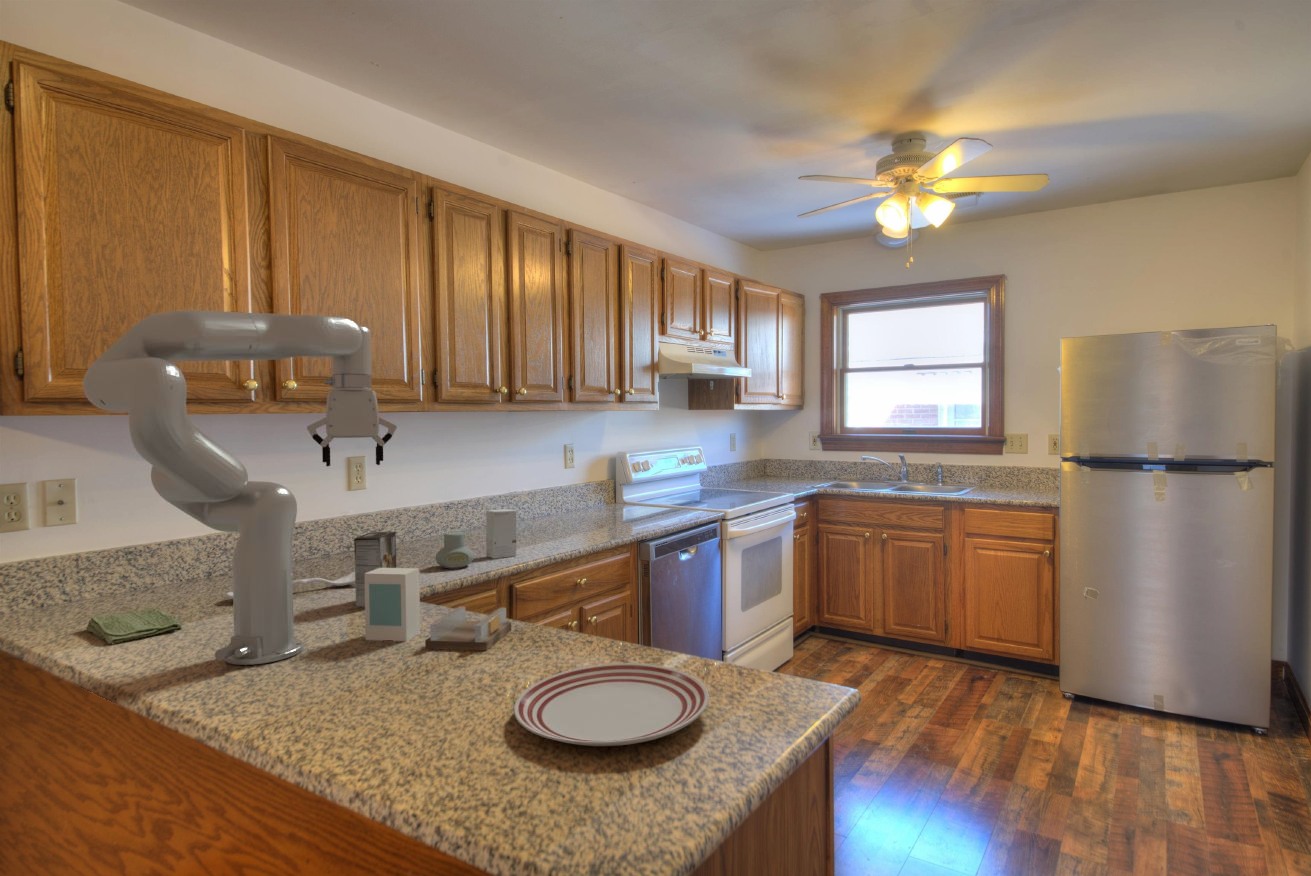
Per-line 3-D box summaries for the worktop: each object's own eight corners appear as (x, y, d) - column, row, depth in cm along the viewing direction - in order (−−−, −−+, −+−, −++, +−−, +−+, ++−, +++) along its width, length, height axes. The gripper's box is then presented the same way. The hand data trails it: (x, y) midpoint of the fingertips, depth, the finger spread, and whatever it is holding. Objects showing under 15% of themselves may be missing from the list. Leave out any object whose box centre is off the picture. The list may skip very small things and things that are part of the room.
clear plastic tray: (482, 642, 128) (482, 626, 128) (430, 640, 129) (430, 624, 129) (507, 622, 141) (507, 607, 141) (460, 620, 142) (459, 606, 142)
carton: (406, 641, 134) (404, 574, 134) (365, 640, 135) (363, 573, 135) (420, 632, 140) (419, 568, 139) (380, 631, 141) (379, 567, 141)
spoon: (371, 586, 182) (370, 573, 182) (229, 608, 162) (228, 593, 162) (360, 580, 189) (360, 568, 189) (223, 600, 169) (223, 586, 169)
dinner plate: (542, 784, 80) (541, 755, 80) (497, 699, 106) (496, 677, 106) (746, 738, 91) (746, 713, 91) (661, 671, 117) (661, 652, 116)
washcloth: (108, 649, 133) (107, 632, 133) (83, 632, 144) (83, 617, 144) (186, 632, 143) (186, 617, 143) (158, 618, 154) (157, 603, 154)
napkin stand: (486, 650, 128) (486, 642, 128) (425, 648, 130) (425, 640, 130) (511, 629, 141) (511, 622, 141) (455, 627, 142) (455, 620, 142)
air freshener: (436, 571, 199) (436, 536, 199) (434, 565, 207) (434, 532, 207) (475, 567, 203) (475, 533, 203) (472, 562, 211) (471, 530, 211)
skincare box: (492, 559, 216) (492, 511, 216) (485, 556, 221) (484, 509, 221) (517, 556, 221) (517, 509, 221) (510, 553, 226) (509, 507, 226)
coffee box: (371, 597, 169) (370, 531, 169) (397, 596, 169) (396, 531, 169) (354, 607, 160) (353, 537, 160) (382, 606, 160) (380, 537, 160)
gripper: (305, 382, 139) (306, 467, 140) (396, 383, 146) (398, 464, 147) (307, 384, 146) (308, 465, 146) (394, 386, 153) (396, 463, 153)
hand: (353, 465), depth 146 cm, fingers open, 9 cm apart
